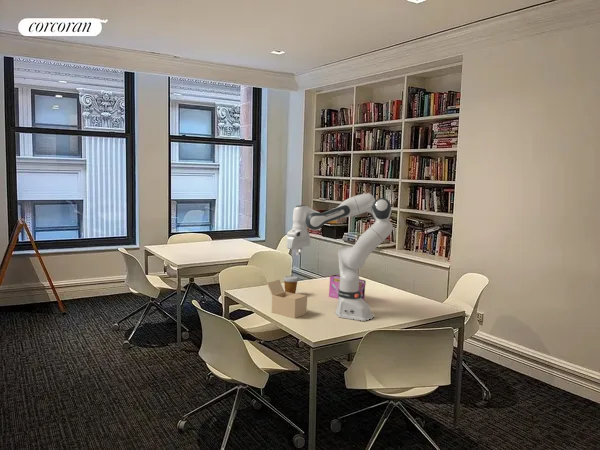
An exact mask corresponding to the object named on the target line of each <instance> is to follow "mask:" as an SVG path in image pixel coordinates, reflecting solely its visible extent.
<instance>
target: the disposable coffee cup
mask: <svg viewBox="0 0 600 450" xmlns="http://www.w3.org/2000/svg"><path fill="white" fill-rule="evenodd" d="M298 281H299V277H298V276H294V275H286V276H284V277H283V282H284V292H289V293H293V294H295V293H296V292H297V287H298V286H297V285H298ZM296 294H297V293H296Z"/></svg>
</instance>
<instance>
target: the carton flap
mask: <svg viewBox="0 0 600 450" xmlns="http://www.w3.org/2000/svg"><path fill="white" fill-rule="evenodd" d="M266 284H267V287H268V290H269V291H270V295H271V296H272V295H275V294H279V293H282V292H285V289H284V288H283V286H282V283H281V279H277V280H274V281H270V282H267V283H266Z"/></svg>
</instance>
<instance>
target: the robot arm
mask: <svg viewBox="0 0 600 450" xmlns="http://www.w3.org/2000/svg"><path fill="white" fill-rule="evenodd" d="M364 213H369V215H370V216H371V217H372V219H373V220H374V223H373V224H372V225H370V226H369V228H367V229H366V230H365V231H364V232H363V233H362V234H360V235H359V237H358V239H357V241H356V242H355V243H354V245H353V246H352V245H344V246H343V245H342V246H341V247H340V248H339V249H338V251H337V257H338V258H337V259H338V269H339V276H340V287H339V291H338V298H339V299H338V298H337V299H338V300H337V306H336V310H335V312H334V313H335V315H337V317H338V318H342V319H348V320H353V319H354V320H353V321H359V320H361V322H367V321H366V320H368V321H370V320H369V319H371V320H372V318H373V317H374V318H375V315H374V313H372V312H371V306H370V304H369V303H367V302H366V300H365V299H364V300H363V299H362V298H361V295H362V293H360V292H359V279H360V275H359V270H360V268H362V267H363V266H364V265H365V262H366V260H367V259H368V258H369V256H370V255H371V254H372V252H373V251H374V250H375V249H376V248H377V247H379V245H381V244H382V243H383V242H384V241H385V240H386V239H387V238H388V237H389V236H390V234H391V233H392V232H393V229H394V226H393V224H392V222H391V221H390V219H391V214H392V204H391V202H390V201H389V200H388V199H387V198H385V197H379V198H377V199H375V196H374V195H372V194H371V193H361V194H357V195H354V196H351V197H349V198H346V199H345V200H343V201H342V202H341V203H340V204H339V205H338V206H337V207H335V208H332V209H329V210H326V211H324V212H320V211H319V210H318V211H317V210H314V209H312V208H311V207H309V206H308V205H307V204H300V205H296V206H295V207H294V208H293V211H292V227H291V229H290V230H289V231H287V233H286V235H287V237H286V248H287V249H288V250H295V255H296V256H301V255H302V251H303V250H304V249H303V248H305V247H310V246H311V235H310V232H309V231H308V229H310V230H313V231H316V230H320V229H321V228H322V227H323V226H324V225H325V224H327V223H330V222H333V221H336V220H339V219H342V218H349V217H350V218H351V217H354V216H359V215H361V214H364ZM374 318H373V319H374Z"/></svg>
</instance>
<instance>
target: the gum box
mask: <svg viewBox="0 0 600 450" xmlns="http://www.w3.org/2000/svg"><path fill="white" fill-rule="evenodd" d="M366 284H367V283H366V280H365V279H360V278H359V292H360V293H362V295H361V298H362V299H363V300H364V301H365V294H366V293H365V290H366ZM339 287H340V274H334V275H333V274H332V275H331V276H329V288H328V289H329V290H328V297H329V298H333V299H339V298H338V291H339Z"/></svg>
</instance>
